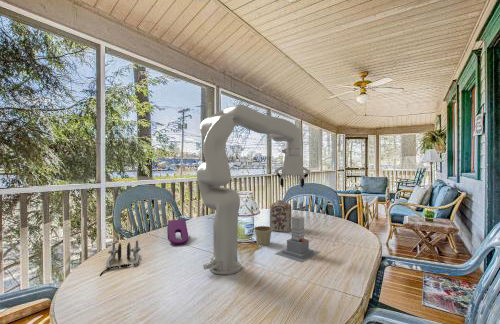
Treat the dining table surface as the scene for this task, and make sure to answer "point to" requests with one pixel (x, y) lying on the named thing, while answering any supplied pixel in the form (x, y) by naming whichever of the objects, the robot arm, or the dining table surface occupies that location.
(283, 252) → the stand base
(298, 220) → the column
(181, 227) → the mounting bracket
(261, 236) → the flower pot
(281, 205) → the decorative jar
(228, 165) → the robot arm
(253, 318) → the dining table surface
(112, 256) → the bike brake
